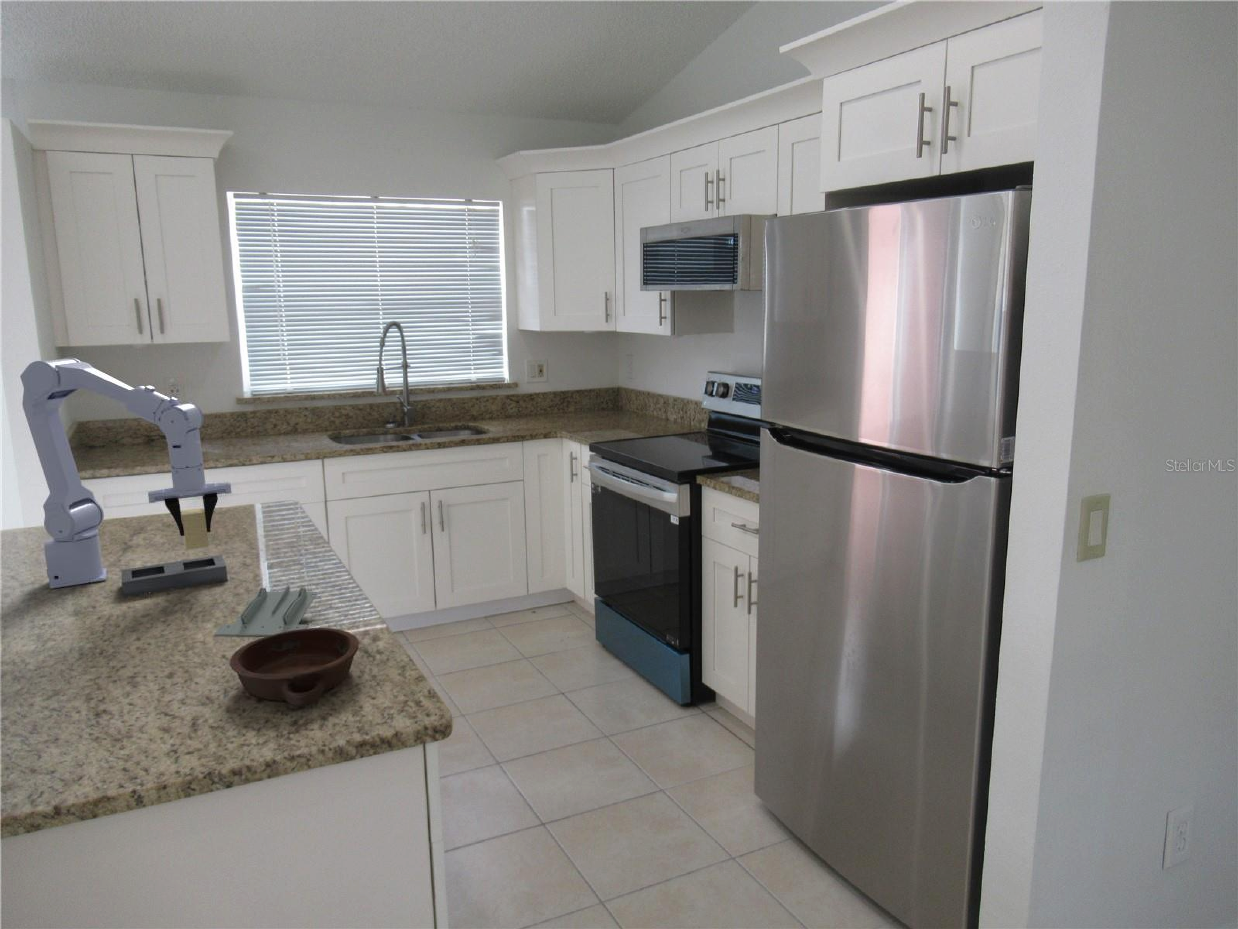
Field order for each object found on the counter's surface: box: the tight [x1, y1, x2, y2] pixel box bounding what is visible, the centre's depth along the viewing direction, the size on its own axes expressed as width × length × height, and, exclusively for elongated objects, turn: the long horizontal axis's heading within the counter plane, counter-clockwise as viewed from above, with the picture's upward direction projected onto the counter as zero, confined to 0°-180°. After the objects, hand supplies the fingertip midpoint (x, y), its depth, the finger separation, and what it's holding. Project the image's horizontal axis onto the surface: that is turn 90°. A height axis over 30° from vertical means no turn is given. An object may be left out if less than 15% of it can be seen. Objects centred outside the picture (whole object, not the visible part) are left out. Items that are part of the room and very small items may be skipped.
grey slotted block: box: [121, 554, 228, 598], centre depth 170 cm, size 18×9×3 cm, turn 120°
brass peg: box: [181, 507, 210, 550], centre depth 171 cm, size 4×4×7 cm
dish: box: [229, 627, 360, 707], centre depth 125 cm, size 18×22×5 cm
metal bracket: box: [213, 585, 318, 638], centre depth 148 cm, size 14×6×15 cm
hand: (195, 533), depth 171 cm, fingers closed on brass peg, 4 cm apart
